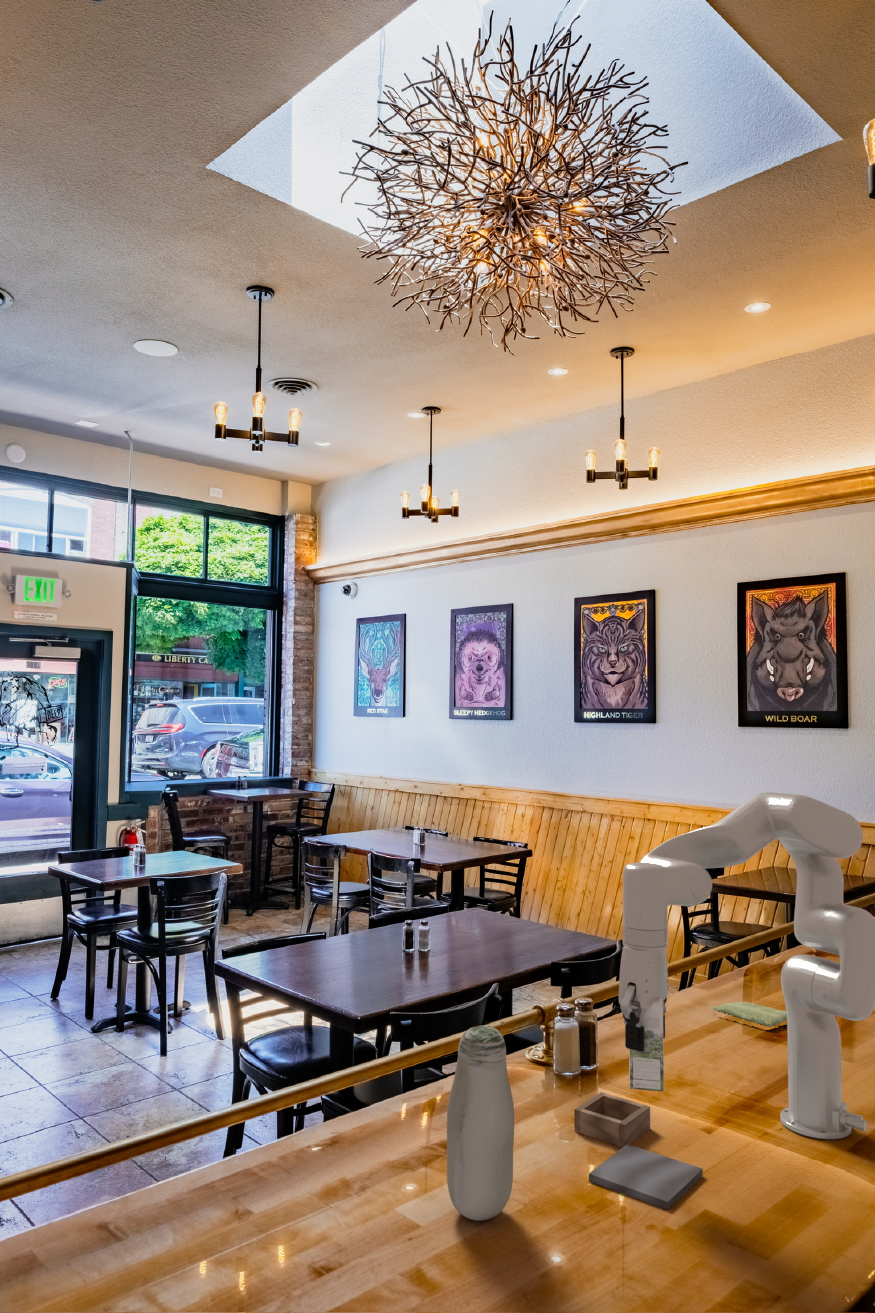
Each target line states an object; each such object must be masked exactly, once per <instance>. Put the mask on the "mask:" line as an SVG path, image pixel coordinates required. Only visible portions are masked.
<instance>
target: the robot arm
mask: <svg viewBox="0 0 875 1313" xmlns="http://www.w3.org/2000/svg"><path fill="white" fill-rule="evenodd" d="M863 836H864V835H863V830H862V827H861V825H860V823H859V822H858V820H857V819H856V818H855V817H854V816H853V815H852V814H851V813H849V812H846V811H843V810H841V809H839V808H837V807H834V806H832V805H830V804H828V803H826V802H823V801H820V800H818V799H816V798H814V797H812V796H811V797H810V796H808V795H803V794H797V793H796V794H795V793H783V792H782V793H781V792H772V791H770V792H768V791H766V792H760V793H758V794H755V795H754V796H752V797H750V798H749V799H748V800H746V801H745V802H743V803H742V804H741V805H739V806H738V807H737V808H735V809H734V810H732V811H731V812H730V813H728V814H727V815H724V817H723V818H721V819H720V820H718V821H717V822H715V823H713V824H711V825H706V826H703V827H699V828H698V829H695V830H692V831H689V832H686V833H683V834H679V835H676V836H674V837H671V838H670V839H667V840H666V841H664V842H663V843H660V844H659V845H658V846H656V847H655V848H654V849H652V850H650V851H649V852H648V853H647V854H646V855H644V856H643V857H642V859H640V860H639V861H638V862H631V863H627V864H626V865H625V866H624V868H623V869H622V945H623V947H622V951H621V958H620V968H619V980H618V981H619V985H618V1003H619V1005H620V1006H619V1008H620V1011H621V1013H622V1017H623V1024H624V1028H625V1029H624V1030H625V1031H624V1032H625V1034H624V1037H625V1038H624V1039H625V1040H624V1042H625V1045H624V1046H625V1048H626V1049H628V1050H629V1049H632V1050H636V1051H639V1052H642V1051H644V1027H643V1026H642V1022H643V1017H644V1013H645V1010H647V1009H649V1008H651V1005H652V1003H653V1002H654V1001H656V1000H657V999H659V998H660V997H661V999H662V1003H663V1040H665V1038H666V1013H667V1007H666V1003H667V1001H668V1000H667V999H668V993H669V992H668V991H669V976H668V974H669V970H668V959H667V957H668V956H667V949H668V947H669V946H668V945H669V943H668V942H669V937H668V936H669V935H668V934H669V931H668V929H669V928H668V927H669V926H668V925H669V924H668V923H669V922H668V921H669V920H668V912H669V911H668V908H669V906H682V907H693V906H694V907H695V906H698V905H701V904H702V903H704V902H706V900H707V899H708V898H709V897H710V895H711V893H712V890H713V881H712V877H711V875H710V873H709V872H708V870H706V869H718V868H729V867H733V866H739V865H742V864H744V863H746V862H747V861H749V860H750V859H752V858H753V857H754V856H755V855H756V854H758V853H759V852H760V851H762V850H763V849H765V847H767V846H769V845H770V844H771V843H773V842H774V841H775V840H778V841H779V843H780V844H781V845H782V847H783V848H785V850H786V851H787V853H788V854H789V855H790V857H791V859H792V862H793V863H794V866H795V870H796V891H795V892H796V893H795V903H794V904H795V906H794V915H793V931H794V936H795V938H796V940H797V941H798V942H799V943H800V944H802V945H803V946H804V947H805V946H806V947H808V948H810V949H813V950H817V951H820V952H826V953H827V954H832V955H837V956H839V962H837V961H835V960H831V959H827V958H824V957H819V956H815V955H811V954H796V955H792V956H791V957H789V958H788V959H787V960H786V961H785V963H784V964H783V965H782V968H781V972H780V983H781V989H782V994H783V999H784V1003H785V1011H786V1012H787V1026H786V1027H787V1031H786V1032H787V1079H788V1080H787V1081H788V1082H787V1084H788V1085H787V1087H788V1090H787V1091H788V1107H785V1108H783V1109H782V1110H781V1111H780V1114H779V1115H780V1116H779V1118H780V1122H781V1123H782V1125H783V1126H784V1127H785V1128H787V1129H788V1130H790V1131H792V1132H794V1133H797V1134H799V1135H802V1136H805V1137H809V1138H815V1139H822V1140H837V1139H838V1140H839V1139H844V1138H846V1137H848V1136H849V1135H851V1134H852V1128H853V1129H855V1130H859V1131H862V1132H866V1131H867V1126H868V1125H867V1119H864V1117H863V1115H861V1114H856V1113H852V1112H850V1111H849V1110H847V1109H848V1108H847V1107H848V1106H847V1104H848V1103H846V1102H843V1095H842V1093H843V1090H842V1088H843V1087H842V1085H843V1084H842V1082H843V1080H842V1043H841V1042H842V1040H841V1039H842V1038H841V1031H840V1026H839V1023H838V1021H837V1018H836V1017H839V1018H842V1019H846V1020H849V1021H853V1022H854V1021H855V1022H861V1021H864V1020H867V1019H868V1018H869V1017H870V1016H872V1013H873V1012H874V1010H875V917H874V916H873V915H872V914H871V913H870V912H869V911H867V910H866V909H863V908H860V907H857V906H853V905H848V904H844V881H845V879H844V872H843V870H842V867H841V864H840V863H839V861H838V859H847V858H851V857H852V856H855V855H856V854H857V853H858V851H859V850H860V849H861V847H862V843H863V839H864V837H863ZM633 1002H636V1003H639V1004H640V1007H639V1006H635V1005H632V1003H633ZM632 1010H635V1011H639V1012H638V1017H637V1016H636V1015H635V1013H634V1012H632Z"/></svg>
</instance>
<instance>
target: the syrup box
mask: <svg viewBox="0 0 875 1313" xmlns="http://www.w3.org/2000/svg"><path fill="white" fill-rule="evenodd" d="M632 1005H635V1006H639V1007H640V1004H639V1003H636V1002H633V1003H632ZM632 1012H634V1013H635V1015H636V1016H637V1017H638V1012H639V1011H635V1010H632ZM663 1015H664V1014H663V1003H662V999H661V997H660V998H659V999H657V1000H656V1001H654V1002H653V1003H652V1005H651V1008H649V1009H647V1010H645V1013H644V1017H643V1022H642V1026H643V1027H644V1051H642V1052H639V1051H636V1050H632V1049H628V1059H629V1060H628V1065H629V1066H628V1069H629V1070H628V1071H629V1072H628V1073H629V1074H628V1076H629V1077H628V1078H629V1088H630V1090H631V1089H632V1090H639V1091H640V1090H641V1091H651V1092H664V1091H665V1063H664V1062H665V1058H664V1056H665V1054H664V1052H665V1051H664V1039H663Z"/></svg>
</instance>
